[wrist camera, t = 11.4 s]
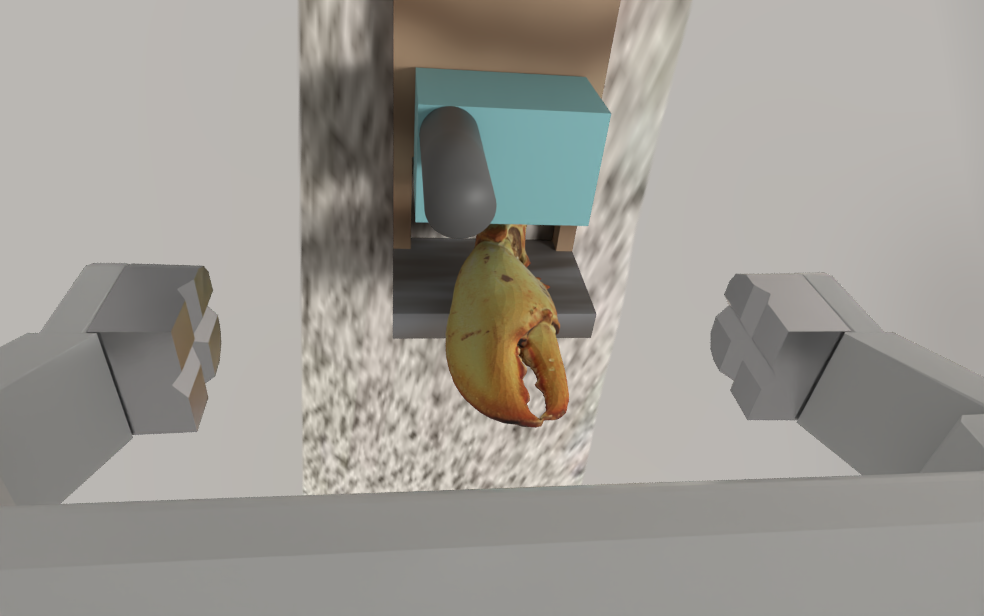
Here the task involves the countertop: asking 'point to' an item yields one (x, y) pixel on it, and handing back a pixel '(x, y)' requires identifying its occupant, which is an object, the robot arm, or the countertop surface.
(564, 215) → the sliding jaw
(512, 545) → the robot arm
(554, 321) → the crab claw
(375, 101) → the countertop surface
